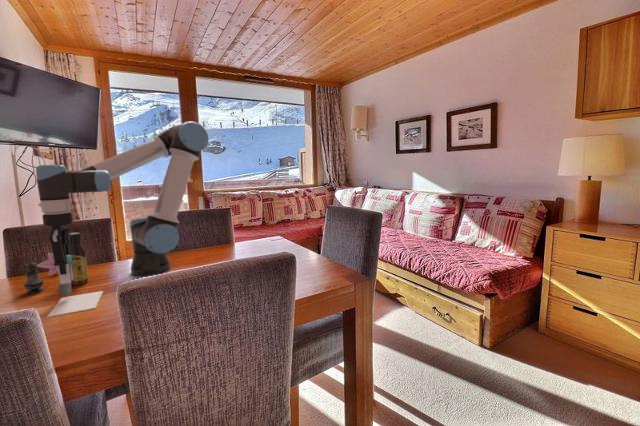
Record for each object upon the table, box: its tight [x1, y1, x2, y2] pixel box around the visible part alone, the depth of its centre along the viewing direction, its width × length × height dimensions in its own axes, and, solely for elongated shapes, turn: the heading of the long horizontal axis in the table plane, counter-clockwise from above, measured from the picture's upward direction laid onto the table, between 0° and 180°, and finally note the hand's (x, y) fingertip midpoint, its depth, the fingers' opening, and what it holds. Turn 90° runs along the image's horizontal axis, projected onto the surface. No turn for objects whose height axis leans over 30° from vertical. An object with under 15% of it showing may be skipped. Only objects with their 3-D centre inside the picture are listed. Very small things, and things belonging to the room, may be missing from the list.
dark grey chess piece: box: [22, 259, 46, 295], centre depth 117 cm, size 6×6×12 cm
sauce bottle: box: [70, 232, 89, 286], centre depth 124 cm, size 6×6×20 cm
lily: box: [36, 252, 58, 277], centre depth 139 cm, size 12×12×10 cm
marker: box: [58, 255, 72, 296], centre depth 107 cm, size 3×3×13 cm
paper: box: [46, 290, 104, 318], centre depth 106 cm, size 12×16×1 cm
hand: (66, 281), depth 108 cm, fingers closed on marker, 3 cm apart
